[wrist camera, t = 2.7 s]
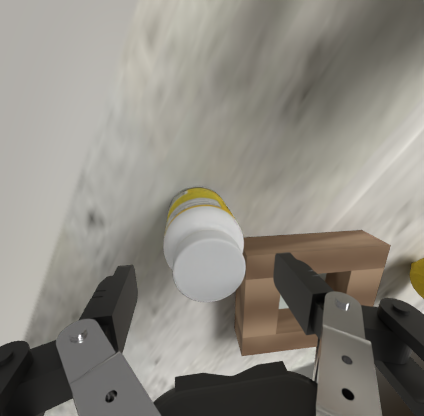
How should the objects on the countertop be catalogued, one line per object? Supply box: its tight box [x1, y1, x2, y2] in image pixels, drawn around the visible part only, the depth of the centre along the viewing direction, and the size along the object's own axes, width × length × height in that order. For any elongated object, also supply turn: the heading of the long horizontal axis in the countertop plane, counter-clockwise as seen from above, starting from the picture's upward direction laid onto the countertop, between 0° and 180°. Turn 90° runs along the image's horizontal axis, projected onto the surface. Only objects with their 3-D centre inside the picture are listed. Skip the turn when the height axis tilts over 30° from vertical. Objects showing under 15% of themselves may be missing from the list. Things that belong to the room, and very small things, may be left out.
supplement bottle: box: [163, 186, 246, 302], centre depth 16 cm, size 5×5×10 cm
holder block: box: [234, 230, 391, 356], centre depth 23 cm, size 12×14×4 cm
